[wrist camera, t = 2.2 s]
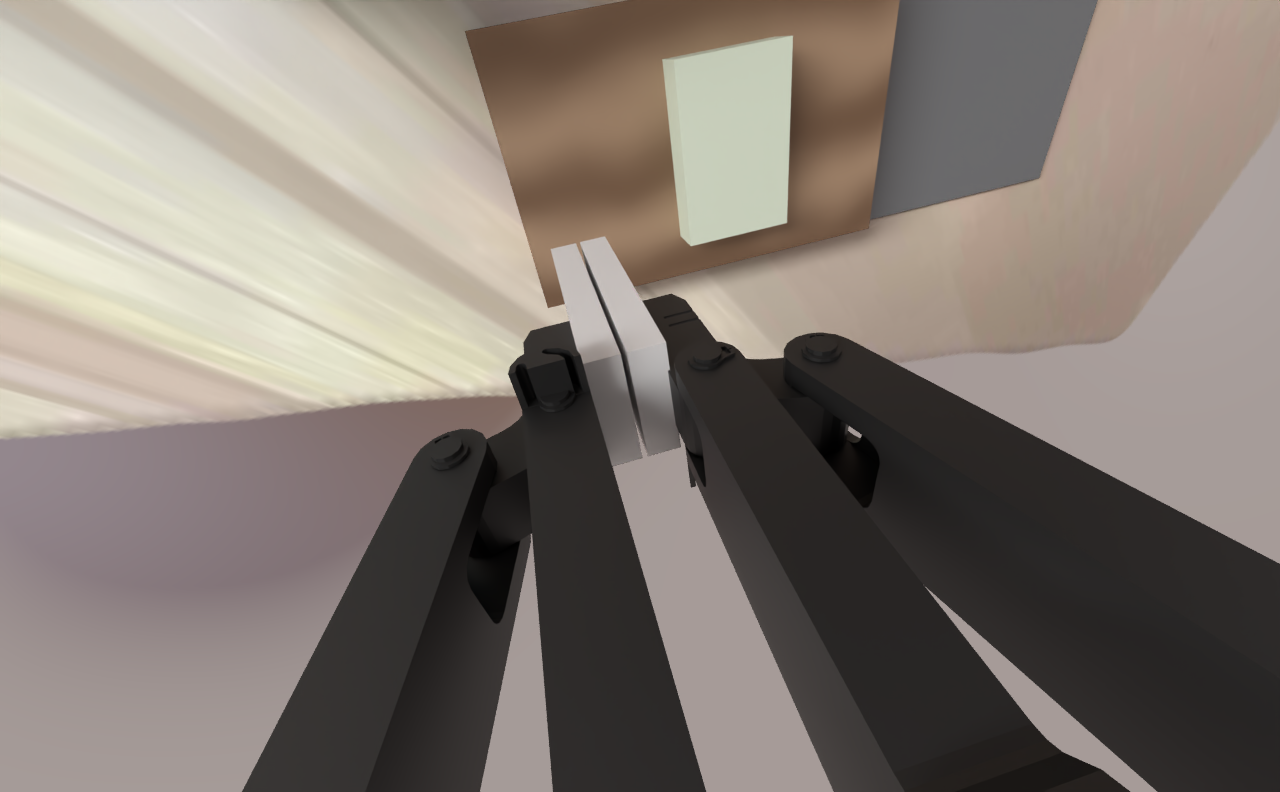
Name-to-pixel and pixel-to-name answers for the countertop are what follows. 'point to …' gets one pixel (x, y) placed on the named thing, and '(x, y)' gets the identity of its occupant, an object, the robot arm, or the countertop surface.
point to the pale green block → (730, 137)
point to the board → (639, 126)
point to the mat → (973, 96)
